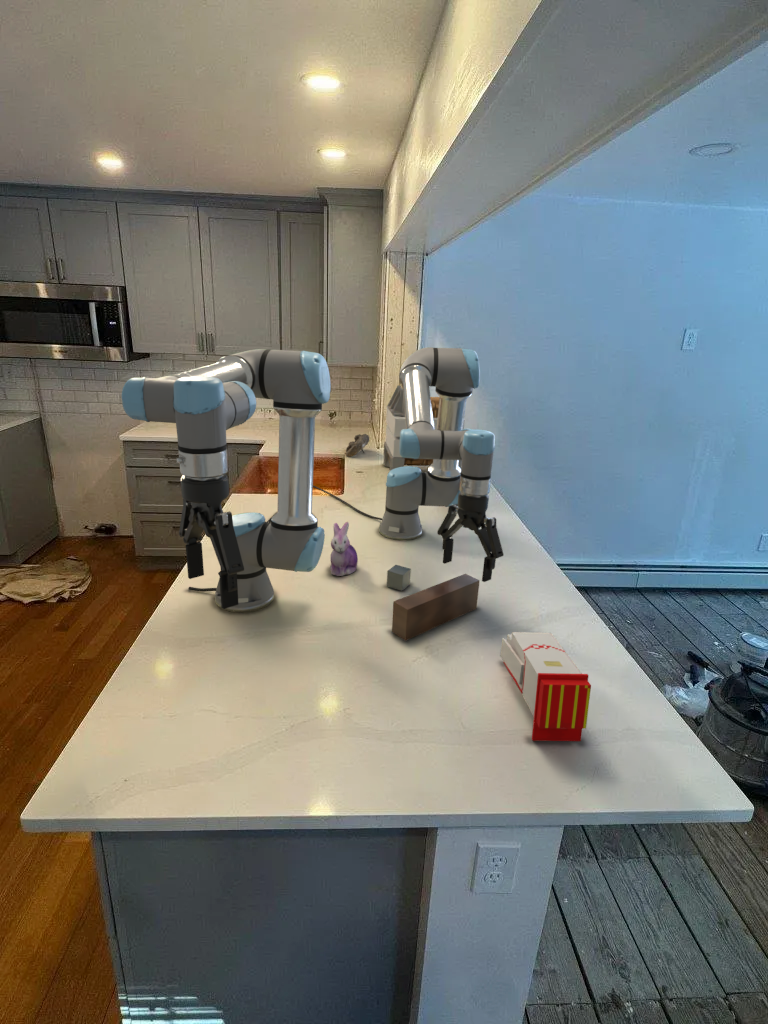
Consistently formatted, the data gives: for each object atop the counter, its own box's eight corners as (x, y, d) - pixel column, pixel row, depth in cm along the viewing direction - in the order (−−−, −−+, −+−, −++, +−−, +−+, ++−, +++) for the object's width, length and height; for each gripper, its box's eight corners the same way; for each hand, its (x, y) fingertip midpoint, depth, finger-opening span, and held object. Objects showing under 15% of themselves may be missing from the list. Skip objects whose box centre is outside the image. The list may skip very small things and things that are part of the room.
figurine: (335, 579, 164) (336, 531, 159) (322, 565, 172) (322, 519, 167) (364, 574, 168) (366, 527, 163) (350, 560, 177) (351, 515, 172)
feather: (284, 506, 225) (286, 502, 224) (266, 530, 198) (268, 525, 198) (280, 504, 225) (282, 500, 224) (261, 527, 198) (264, 523, 197)
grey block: (386, 586, 162) (387, 570, 160) (394, 579, 166) (395, 564, 164) (402, 591, 160) (403, 575, 158) (410, 584, 164) (411, 568, 162)
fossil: (345, 440, 316) (366, 424, 311) (356, 453, 319) (377, 438, 314) (339, 453, 297) (361, 437, 292) (350, 467, 300) (373, 452, 295)
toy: (548, 616, 130) (600, 681, 101) (542, 669, 133) (592, 748, 104) (495, 615, 130) (533, 680, 101) (491, 669, 133) (526, 747, 103)
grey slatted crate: (382, 463, 289) (386, 382, 275) (445, 464, 293) (451, 384, 279) (390, 482, 257) (394, 392, 243) (460, 483, 261) (468, 394, 247)
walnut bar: (405, 641, 136) (407, 609, 133) (391, 631, 139) (393, 601, 136) (476, 608, 152) (479, 580, 149) (462, 601, 155) (465, 573, 153)
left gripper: (153, 460, 99) (164, 570, 106) (216, 498, 81) (224, 627, 89) (194, 455, 104) (202, 560, 111) (263, 490, 86) (266, 613, 93)
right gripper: (427, 483, 147) (422, 558, 154) (504, 509, 130) (494, 592, 137) (447, 479, 152) (441, 552, 159) (524, 503, 134) (513, 584, 141)
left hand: (212, 590), depth 100 cm, fingers open, 13 cm apart
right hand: (466, 571), depth 148 cm, fingers open, 13 cm apart
